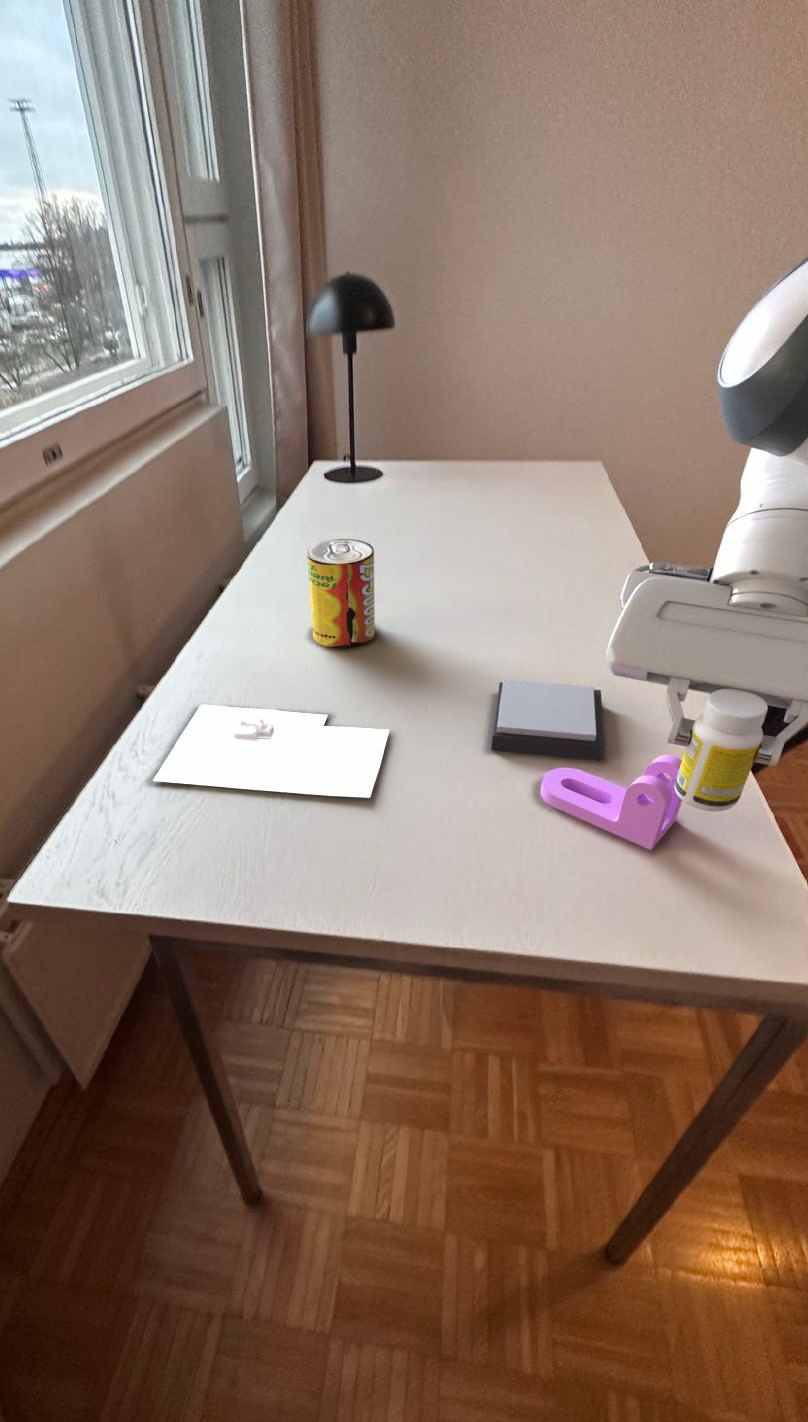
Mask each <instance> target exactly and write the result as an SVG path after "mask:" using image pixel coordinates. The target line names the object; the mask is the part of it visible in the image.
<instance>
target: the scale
mask: <svg viewBox="0 0 808 1422" xmlns="http://www.w3.org/2000/svg"><path fill="white" fill-rule="evenodd" d="M603 714H604V713H603V700H602V690H601V689H595V687H594V685H593V686H592V685H579V684H567V683H566V684H565V683H555V682H554V683H553V682H541V681H540V682H539V681H527V680H514V679H502V682H499V684H498V692H497V698H496V707H495V715H494V722H493V730H492V736H491V746H490V751H494V752H504V753H505V752H506V753H515V754H526V755H538V756H548V757H558V758H568V759H569V758H570V759H577V760H579V759H580V760H589V761H602V760H603V756H604V752H605V747H606V745H605V728H604V716H603Z"/></svg>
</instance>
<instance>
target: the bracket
mask: <svg viewBox="0 0 808 1422" xmlns="http://www.w3.org/2000/svg"><path fill="white" fill-rule="evenodd" d="M681 762H682V759H681V758H680V757H677V756H675V755H672V754H662V755H659V756H658V757H656V758H654V760H653V761H652V762H651V763H650V764H649V765H648V766H647V767H646V769H645V771H644V775H642V776H638V777H637V778H636V779H635V780H634V781H633V782H632V783H631V784H630V785H629V786H628V787H627V788H626V787H623V786H622V785H619V784H615V783H614V782H612V781H609V780H606V779H604V778H601V777H599V776H596V775H594V774H591V773H588V772H587V771H584V770H581V769H578V768H575V767H574V768H573V767H559V768H554V769H551V770H549V771H547V772H546V773H545V774H544V775H543V777H542V781H541V785H540V791H539V792H540V797H541V799H542V800H543V801H544V802H545V803H546V804H548V805H549V806H550V807H552V808H555V809H557V810H558V811H561V812H564V813H566V814H568V815H570V816H573V817H575V818H577V819H579V820H581V821H584V822H586V823H588V824H591V825H593V826H595V827H597V828H600V829H602V830H604V831H607V832H609V833H611V834H613V835H616V836H618V837H620V838H622V839H624V840H627V841H629V842H631V843H633V844H636V845H637V846H640V847H642V848H644V849H648V850H649V851H652V850H653V849H654V847H656V845H657V844H658V843H659V841H661V839H662V838H663V836H665V834H666V833H667V832H668V830H669V829H670V828H671V827H672V825H673V824H674V823H675V822H676V821H677V817H678V814H679V812H680V808H681V805H682V802H683V800H681V799H680V798H679V797H678V795H677V794H676V792H675V781H676V778H677V775H678V772H679V768H680V766H681ZM665 774H667V775H668V776H669V777H670V778H669V777H667V776H666V775H665Z"/></svg>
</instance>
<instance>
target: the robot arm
mask: <svg viewBox="0 0 808 1422" xmlns="http://www.w3.org/2000/svg"><path fill="white" fill-rule="evenodd" d="M716 377H717V378H716V379H717V382H716V383H717V397H718V404H719V405H718V406H719V409H720V414H721V418H722V421H723V425H724V427H725V430H726V431H727V433H728V434H727V435H728V436H729V438H730V440H732V441H733V442H734V443H738V444H741V445H742V446H746V447H748V448H749V447H750V451H749V454H748V456H747V459H746V462H745V466H744V468H743V471H742V475H741V479H740V487H739V488H740V497H739V498H740V499H739V503H738V505H737V507H736V509H735V512H734V513H733V514H732V516H731V518H730V519H729V521H728V522H727V525H726V527H725V529H724V533H723V536H722V539H721V541H720V546H719V548H718V551H717V554H716V558H715V561H714V564H713V566H712V567H708V566H701V565H693V564H692V565H691V564H675V563H670V562H668V561H662V560H661V561H660V560H655V561H654V560H653V561H651V563H650V564H647V565H642V566H639V567H637V568H636V569H634V570H633V571H631V572H630V573H629V575H628V576H627V578H626V579H625V582H624V585H623V588H622V591H621V595H620V599H619V600H620V606H621V609H622V611H621V613H620V614H619V617H618V619H617V622H616V623H615V627H614V628H613V631H612V633H611V636H610V639H609V642H608V644H607V647H606V652H605V661H606V664H607V666H608V669H609V671H610V672H611V674H612V675H614V676H617V677H621V678H626V679H632V680H637V681H641V682H647V683H651V684H652V683H653V684H658V685H662V686H667V689H666V694H665V702H666V706H667V710H668V712H669V716H670V719H671V720H670V721H671V722H672V724H671V727H670V731H669V734H668V738H667V740H666V741H667V742H666V743H667V744H673V745H677V746H680V747H685V748H686V747H687V745H688V742H689V739H690V736H691V731H692V729H693V726H694V723H695V720H696V719H695V720H694V719H690V718H686V717H685V715H684V712H683V708H682V705H681V703H683V702H685V700H686V697H687V694H688V692H689V691H694V692H699V693H703V694H707V695H708V694H709V695H710V694H711V693H713V692H715V691H717V690H722V689H738V690H743V691H747V692H750V693H753V694H755V695H757V696H759V697H760V698H762V699H763V700H764V701H765V702H766V704H767V706H771V707H775V708H782V709H786V711H785V715H784V717H783V722H784V723H786V724H788V725H787V726H786V727H785V728H784V729H783V730H782V731H781V732H779V733H778V734H777V735H776V736H772V735H767V734H763V738H762V742H761V745H760V747H759V750H758V752H757V754H756V757H755V760H754V762H753V763H758V764H762V765H767V766H770V767H775V766H776V765H778V763H779V760H780V759H781V755H782V752H783V749H784V745H785V744H786V743H787V742H788V741H789V740H790V739H791V738H792V737H794V736H795V735H796V734H797V733H798V732H799V731H800V730H802V729H803V728H804V727H805V726H806V724H807V723H808V255H806V256H805V257H804V258H802V259H801V260H800V261H799V262H798V263H797V264H795V265H794V266H793V267H792V268H791V269H789V270H788V271H787V272H786V273H784V275H782V276H781V277H780V278H779V279H778V280H777V281H776V282H775V283H773V285H772V286H771V287H769V289H768V290H767V291H766V292H765V293H764V294H763V295H762V296H761V297H760V298H759V300H758V301H756V302H755V304H754V305H753V306H752V308H750V310H749V311H748V312H747V314H746V315H745V316H744V318H743V319H742V321H741V322H740V323H739V325H738V327H737V328H736V329H735V331H734V332H733V334H732V336H731V338H730V339H729V341H728V343H727V345H726V346H725V349H724V351H723V354H722V356H721V358H720V361H719V364H718V369H717V376H716ZM647 571H648V572H647Z"/></svg>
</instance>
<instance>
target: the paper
mask: <svg viewBox="0 0 808 1422" xmlns="http://www.w3.org/2000/svg"><path fill="white" fill-rule="evenodd" d="M327 718H328V714H323V713H322V714H321V713H307V712H296V711H285V710H277V709H265V708H247V707H232V706H224V705H215V704H214V705H213V704H200V705H199V706H198V709H197V710H196V712H195V713H194V715H193V717H192V718H191V720H190V721H189V723H188V724H187V726H186V728H185V729H184V730H183V732H182V733H181V735H180V737H179V738H178V739H177V741H176V743H175V744H174V747H173V748H172V749H171V751H170V753H169V754H168V756H167V758H166V759H165V761H164V762H163V763H162V765H161V767H160V769H159V770H158V772H157V773H156V775H155V776H154V778H153V779H152V781H153V782H161V783H173V784H183V785H184V784H185V785H195V786H196V785H198V786H207V787H208V786H210V787H221V788H228V789H229V788H231V789H243V790H253V791H267V792H279V793H292V794H302V795H303V794H304V795H318V796H329V797H346V798H347V797H349V798H350V797H351V798H367V799H369V798H371V795H372V792H373V789H374V786H375V783H376V780H377V777H378V773H379V771H380V767H381V765H382V760H383V757H384V752H385V747H386V745H387V741H388V737H389V735H390V734H389V733H390V729H386V728H385V729H384V728H372V727H371V728H370V727H353V726H331V725H330V726H329V725H325V723H326V720H327Z"/></svg>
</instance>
